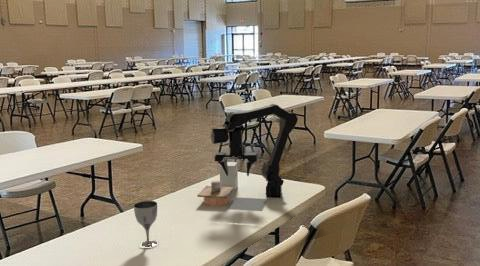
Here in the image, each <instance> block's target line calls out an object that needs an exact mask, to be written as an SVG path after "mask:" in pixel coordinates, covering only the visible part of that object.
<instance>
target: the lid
mask: <svg viewBox="0 0 480 266" xmlns="http://www.w3.org/2000/svg"><path fill="white" fill-rule="evenodd" d="M233 190H234V187H221V186H220V180H213V181H211V183H210V185H206V186H205V187H204V188H202V190H201V191H200V192H199V193H197V195H196V196H197V197H198V198H204V197H210V198H227V197H228V196H229V197H230V195H231V194H232V192H234V191H233Z"/></svg>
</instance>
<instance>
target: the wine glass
mask: <svg viewBox="0 0 480 266" xmlns="http://www.w3.org/2000/svg"><path fill="white" fill-rule="evenodd" d="M133 211H134V217H135V219H136V222H138V224H139V225H141V226H142V228H143V229H144V231H145V234H146V235H145V236H146V240H144V241H145V242H143V241H142V242H143V243H142V246H145V247H150V246H151V247H152V246H155V245H156V244H157V242H158V241H157V242H156V240H153V241H149V240H150V229H151V227H152V225H153V224H154V223H155V222H156V220H157V216H158V202H157V201H155V200H142V201H138V202H136V203H133Z"/></svg>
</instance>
